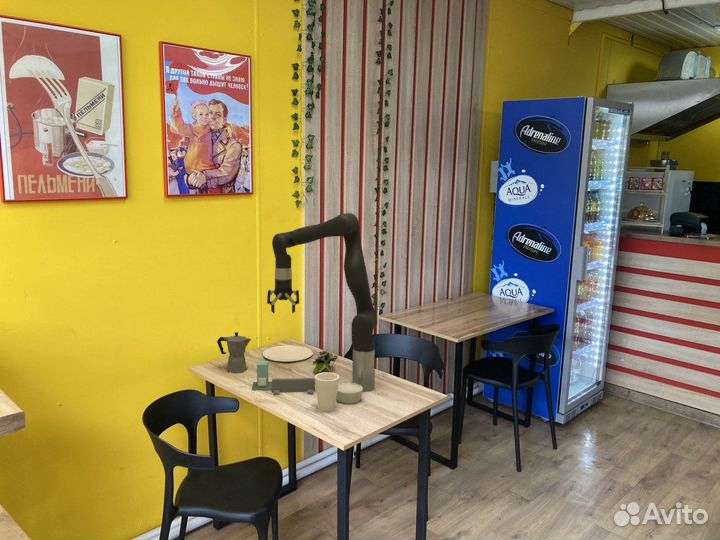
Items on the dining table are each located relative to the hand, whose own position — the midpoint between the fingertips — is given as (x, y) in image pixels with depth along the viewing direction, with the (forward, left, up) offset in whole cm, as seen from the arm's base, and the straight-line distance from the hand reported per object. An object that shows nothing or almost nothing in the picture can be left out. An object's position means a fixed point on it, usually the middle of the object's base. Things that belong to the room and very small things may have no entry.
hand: (283, 312), depth 252 cm
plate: (+21, -12, -29) cm, 38 cm away
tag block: (-11, +15, -28) cm, 33 cm away
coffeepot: (+14, +18, -28) cm, 36 cm away
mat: (-11, +15, -28) cm, 34 cm away
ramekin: (-41, -10, -28) cm, 51 cm away
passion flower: (-8, -18, -28) cm, 34 cm away
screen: (-24, +6, -28) cm, 37 cm away
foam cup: (-44, +2, -28) cm, 52 cm away
